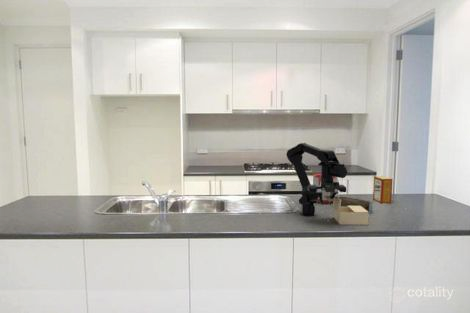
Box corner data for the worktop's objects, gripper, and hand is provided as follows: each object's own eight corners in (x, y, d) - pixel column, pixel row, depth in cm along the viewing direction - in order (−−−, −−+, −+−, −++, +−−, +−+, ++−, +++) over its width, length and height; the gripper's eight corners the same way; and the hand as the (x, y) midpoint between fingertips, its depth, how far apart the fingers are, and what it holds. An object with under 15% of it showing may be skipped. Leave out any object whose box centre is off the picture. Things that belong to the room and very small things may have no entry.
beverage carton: (369, 214, 170) (369, 203, 169) (335, 209, 182) (335, 198, 181) (372, 211, 177) (373, 200, 176) (339, 206, 188) (339, 195, 187)
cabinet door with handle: (340, 212, 154) (328, 212, 154) (334, 206, 164) (322, 206, 165) (341, 199, 153) (329, 198, 153) (335, 194, 163) (323, 193, 164)
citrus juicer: (309, 203, 192) (310, 172, 190) (313, 197, 208) (314, 168, 206) (335, 206, 186) (336, 174, 184) (338, 199, 202) (339, 169, 200)
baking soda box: (373, 199, 201) (374, 175, 199) (382, 199, 202) (383, 175, 200) (381, 203, 192) (382, 178, 190) (391, 203, 192) (392, 178, 190)
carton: (339, 224, 154) (340, 211, 153) (333, 217, 165) (334, 205, 164) (367, 224, 154) (368, 211, 153) (359, 217, 165) (360, 205, 164)
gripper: (311, 177, 149) (311, 208, 151) (350, 178, 149) (349, 209, 150) (307, 173, 160) (306, 202, 162) (343, 173, 160) (342, 203, 162)
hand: (326, 204), depth 159 cm, fingers open, 4 cm apart
